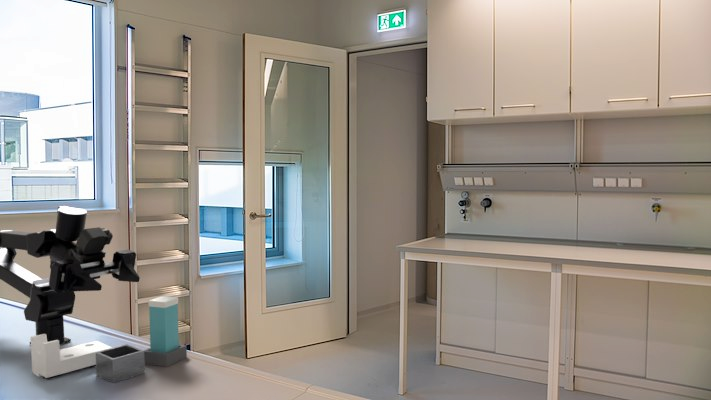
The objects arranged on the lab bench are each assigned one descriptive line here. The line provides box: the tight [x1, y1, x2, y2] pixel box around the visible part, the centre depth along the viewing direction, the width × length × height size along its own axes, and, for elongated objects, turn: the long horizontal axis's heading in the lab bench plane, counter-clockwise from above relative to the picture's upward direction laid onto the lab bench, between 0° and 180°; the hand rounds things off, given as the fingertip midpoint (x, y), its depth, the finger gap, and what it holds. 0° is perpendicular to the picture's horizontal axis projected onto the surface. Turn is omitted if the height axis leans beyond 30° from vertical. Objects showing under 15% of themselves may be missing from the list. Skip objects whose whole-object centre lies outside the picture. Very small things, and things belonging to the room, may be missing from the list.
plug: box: [147, 295, 180, 353], centre depth 119 cm, size 4×4×13 cm
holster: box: [144, 344, 188, 368], centre depth 119 cm, size 6×6×2 cm
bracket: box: [30, 334, 113, 379], centre depth 115 cm, size 13×7×8 cm, turn 139°
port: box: [95, 344, 146, 384], centre depth 111 cm, size 6×6×4 cm
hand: (120, 283), depth 118 cm, fingers open, 9 cm apart
